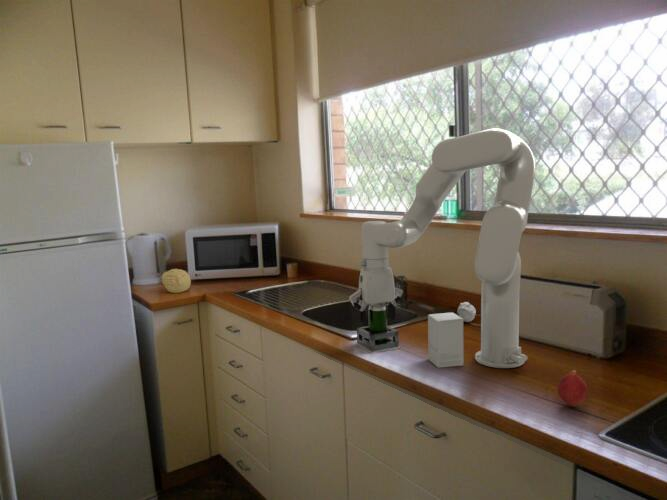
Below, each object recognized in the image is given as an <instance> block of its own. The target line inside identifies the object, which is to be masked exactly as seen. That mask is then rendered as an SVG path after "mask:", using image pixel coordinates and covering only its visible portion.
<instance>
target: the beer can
mask: <svg viewBox="0 0 667 500" xmlns="http://www.w3.org/2000/svg"><path fill="white" fill-rule="evenodd" d="M367 310H368V311H367V313H368V314H367V315H368V326H369V332H370V333H372V334H376V333H382V332H387V326H388V307H387V305H386V303H380V304H373V305H368V309H367ZM384 342H387V338H383V339H377V340H375V344H379V343H384Z"/></svg>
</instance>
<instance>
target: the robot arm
mask: <svg viewBox="0 0 667 500" xmlns="http://www.w3.org/2000/svg"><path fill="white" fill-rule="evenodd" d="M492 165H493V166H495V165H498V166H499V169H500V170H499V177H498V180H497V184H496V185H497V186H496V193H495V197H494V202H493V205H492V206H491V207H490V208H489V209H488V210H487V211H486V212H485V213H484V215H483V217H482V218H483V219H482V222H481V225H480V231H479V235H478V236H479V237H478V241H477V242H478V243H477V248H476V252H475V256H474V257H475V258H474V271H475V274H476V276H477V277H478V279H479V280H480V281H481V293H480V295H481V299H480V301H481V302H480V304H481V305H480V315H481V316H480V350H479V351H476V353H475V354H474V359H475V361H476V362H477V363H478V364H480V365H483V366H486V367H489V368H496V369H510V368H511V369H513V368H514V369H515V368H518V367H520V366H522V365H524V364H525V362H526V361H527V360H528V355H526V354H524V353H522V347H521V346H519V343H520V337H519V335H520V331H519V329H520V294H521V292H520V290H521V289H520V288H521V274H522V273H521V272H522V257H521V255H520V252H519V248H520V242H521V238H522V233H524V231H525V230H526V227H527V225H528V217H529V210H530V204H531V201H532V200H531V199H532V193H533V186H534V183H535V181H534V180H535V176H536V161H535V157H534V154H533V151H532V150H531V148H530V146H529V145H528V144H527V143H526V142H525V141H524V139H522V138H520V137H519V136H518V135H516V134H515V133H513V132H511V131H509V130H507V129H502V128H497V127H496V128H495V127H494V128H493V127H492V128H489V129H484V130H480V131H477V132H471V133H468V134H465V135H460V136H455V137H452V138H447V139H444V140H442V141H440V142H438V143H437V145H435V147H434V148H433V150H432V152H431V163H430V165H429V166H428V168H427V169H426V171H424V173H423V175H422V176H421V178H420V179H419V180H418V182H417V183H416V185H415V198H414V200H413V202H412V203H411V205H410V207H409V209H408V210H407V212H406V213H405V214H404V215H403V217H402V218H401V219H399V220H396V221H392V222H386V221H384V220H383V221H382V220H368V221H365V222H362V225H361V244H362V245H361V247H362V248H361V249H362V255H361V256H362V258H361V260H360V261H359V262H358V266H359V267H362V268H361V269H360V273H359V278H358V290H357V291H355V292H354V293H352V294H351V295H350V296H349V297H348V299H349V301H350V303H351V306H353V307H354V308H355V310H357V320H358V323H359V324H361V325H363V326H365V325H366V324H367V318H366V317H367V313H366V311H365V309H366V308H367V306H369V305H373V304H380V303H384V304H386V303H388V304H387V305H386V308H387V319H390V320H392V321H395V320H396V315H397V314H396V313H397V312H396V309H397V308H396V307H397V306H398V303H399V302H400V301H401V297H402V295H403V292H404V290H403V289H401V288H399V287H397V286H396V285H395V278H394V273H393V269H392V267H390V263H389V261H390V260H389V259H390V258H389V254H390V253H389V249H402V248H405V247H407V246H409V245H411V244H414V243H416V242H417V241H418V240H419V239H420V238H421V236H422V235H423V234H424V233H425V231H426V229H427V228H428V227H429V226H430V224H431V222H432V221H433V220H434V218H435V216H436V215H437V213H438V212H439V209H440V208H441V206H442V204H443V202H444V201H445V199H446V198H447V197H448V196H449V195H450V193H451V191H452V190H453V189H454V187H455V186H456V185H457V184H458V182H459V181H460V180H461V178H462V177H463V176H464V174H465V173H466V171H468V170H474V169H477V168H483V167H488V166H492ZM357 298H358V300H359V302H357Z"/></svg>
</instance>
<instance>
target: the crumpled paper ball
mask: <svg viewBox="0 0 667 500" xmlns="http://www.w3.org/2000/svg"><path fill="white" fill-rule="evenodd" d="M456 313H457V315H458V316H459V317H461V318H463V323H464V322H465V323H470V322H472V321H473V320H474V319H475V317H476V313H477V310H476V308H475V307H474V305H472V304H471V303H470V302H469V301H464V302H460V304H459V306H458V307H457V312H456Z"/></svg>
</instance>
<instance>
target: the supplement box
mask: <svg viewBox="0 0 667 500" xmlns="http://www.w3.org/2000/svg"><path fill="white" fill-rule="evenodd" d="M427 338H428V339H427V340H428V341H427V342H428V344H427V345H428V346H427V347H428V348H427V349H428V352H427V353H428V361H430V362H431V363H432V364H434V366H436V367H437V369H438V368H449V367H461V366H464V356H465V355H464V321H463V318H461V317H459V314H456V313H455V312H453V311H452V312H444V313H443V312H442V313H430V314H427Z"/></svg>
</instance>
